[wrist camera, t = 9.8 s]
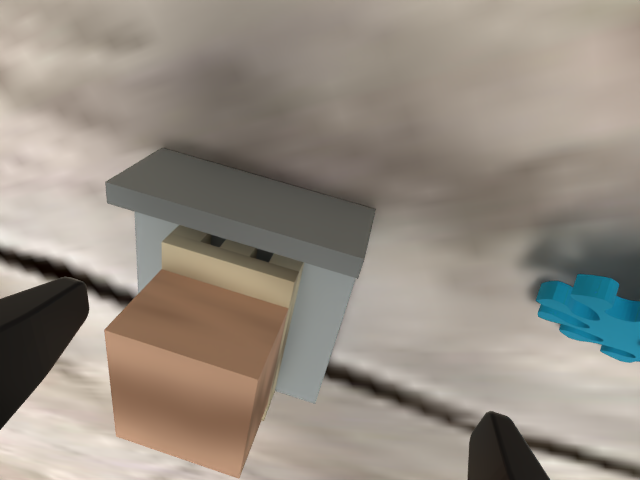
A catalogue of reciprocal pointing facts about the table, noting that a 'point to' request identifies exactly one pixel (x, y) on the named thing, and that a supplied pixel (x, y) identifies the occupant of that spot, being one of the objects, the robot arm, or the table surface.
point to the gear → (594, 314)
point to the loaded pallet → (202, 350)
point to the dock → (255, 242)
